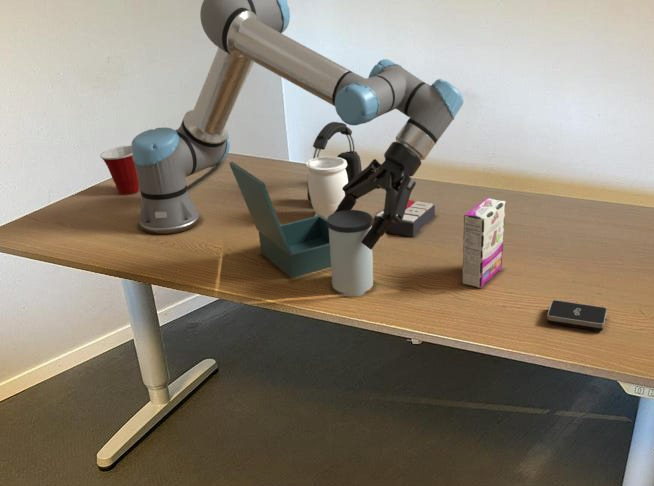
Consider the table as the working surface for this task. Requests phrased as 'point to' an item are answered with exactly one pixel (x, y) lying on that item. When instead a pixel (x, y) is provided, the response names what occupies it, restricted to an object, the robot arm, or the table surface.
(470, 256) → the candy bar box
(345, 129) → the headphones
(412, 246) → the table surface
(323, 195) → the jar
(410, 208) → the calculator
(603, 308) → the external hard drive
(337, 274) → the canister
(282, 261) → the chest
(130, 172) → the plastic cup
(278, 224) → the chest lid
